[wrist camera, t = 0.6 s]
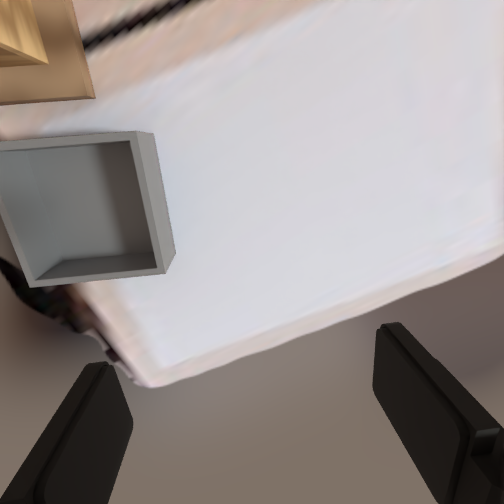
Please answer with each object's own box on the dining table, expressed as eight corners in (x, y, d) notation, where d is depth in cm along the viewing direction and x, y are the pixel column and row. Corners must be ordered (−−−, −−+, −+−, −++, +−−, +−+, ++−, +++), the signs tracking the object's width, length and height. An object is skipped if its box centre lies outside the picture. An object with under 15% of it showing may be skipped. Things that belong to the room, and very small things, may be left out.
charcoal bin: (21, 144, 34) (-29, 143, 27) (153, 133, 34) (136, 130, 28) (63, 263, 39) (29, 287, 33) (175, 252, 40) (165, 273, 33)
